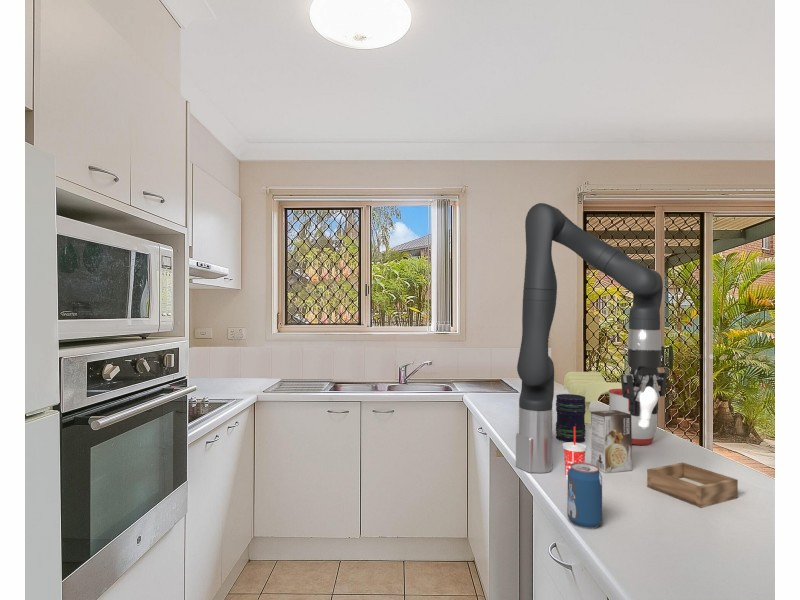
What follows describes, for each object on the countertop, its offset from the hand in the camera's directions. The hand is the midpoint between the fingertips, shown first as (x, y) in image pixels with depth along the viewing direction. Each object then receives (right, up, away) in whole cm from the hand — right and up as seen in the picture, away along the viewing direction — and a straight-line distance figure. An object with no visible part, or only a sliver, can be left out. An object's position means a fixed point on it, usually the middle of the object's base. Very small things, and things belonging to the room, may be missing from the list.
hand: (643, 414), depth 120 cm
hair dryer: (+19, -21, +78) cm, 83 cm away
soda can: (-22, -19, -17) cm, 34 cm away
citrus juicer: (+20, -21, +46) cm, 54 cm away
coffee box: (0, -20, +18) cm, 27 cm away
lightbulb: (0, -4, 0) cm, 4 cm away
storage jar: (-1, -20, +48) cm, 52 cm away
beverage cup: (-14, -20, +9) cm, 26 cm away
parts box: (+12, -20, 0) cm, 23 cm away
